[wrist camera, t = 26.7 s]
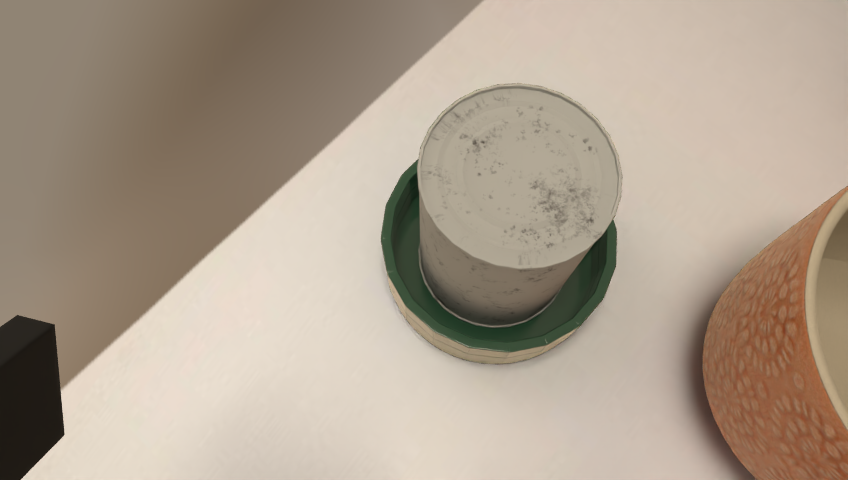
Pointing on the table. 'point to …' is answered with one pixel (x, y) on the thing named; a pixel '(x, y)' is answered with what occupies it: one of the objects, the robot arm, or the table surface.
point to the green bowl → (480, 341)
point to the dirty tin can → (511, 200)
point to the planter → (786, 353)
